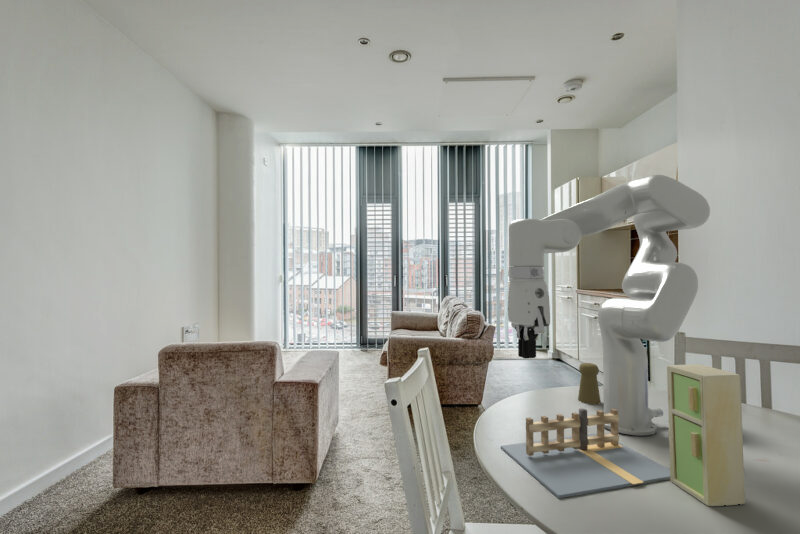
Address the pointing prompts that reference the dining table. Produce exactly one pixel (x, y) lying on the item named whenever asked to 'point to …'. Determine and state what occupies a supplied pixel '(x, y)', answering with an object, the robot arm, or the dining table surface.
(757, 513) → the dining table surface
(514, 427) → the dining table surface
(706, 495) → the toy refrigerator
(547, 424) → the fence gate
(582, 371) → the cork
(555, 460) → the card
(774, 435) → the dining table surface
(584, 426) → the fence fixed
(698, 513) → the dining table surface
